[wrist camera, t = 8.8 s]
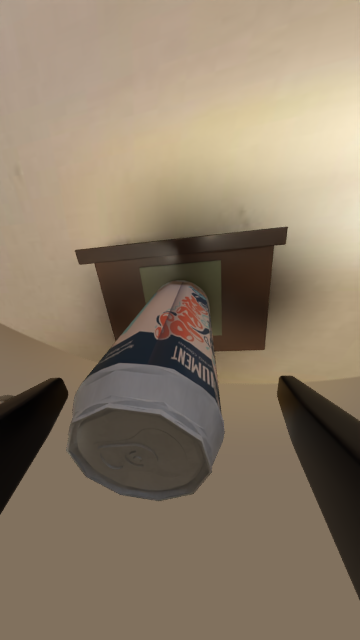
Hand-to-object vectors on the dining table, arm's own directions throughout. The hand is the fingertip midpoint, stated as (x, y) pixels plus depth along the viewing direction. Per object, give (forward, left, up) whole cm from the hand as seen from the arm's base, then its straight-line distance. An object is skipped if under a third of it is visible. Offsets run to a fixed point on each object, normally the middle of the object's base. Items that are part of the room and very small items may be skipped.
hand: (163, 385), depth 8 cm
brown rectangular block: (0, 0, -12) cm, 12 cm away
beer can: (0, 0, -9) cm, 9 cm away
